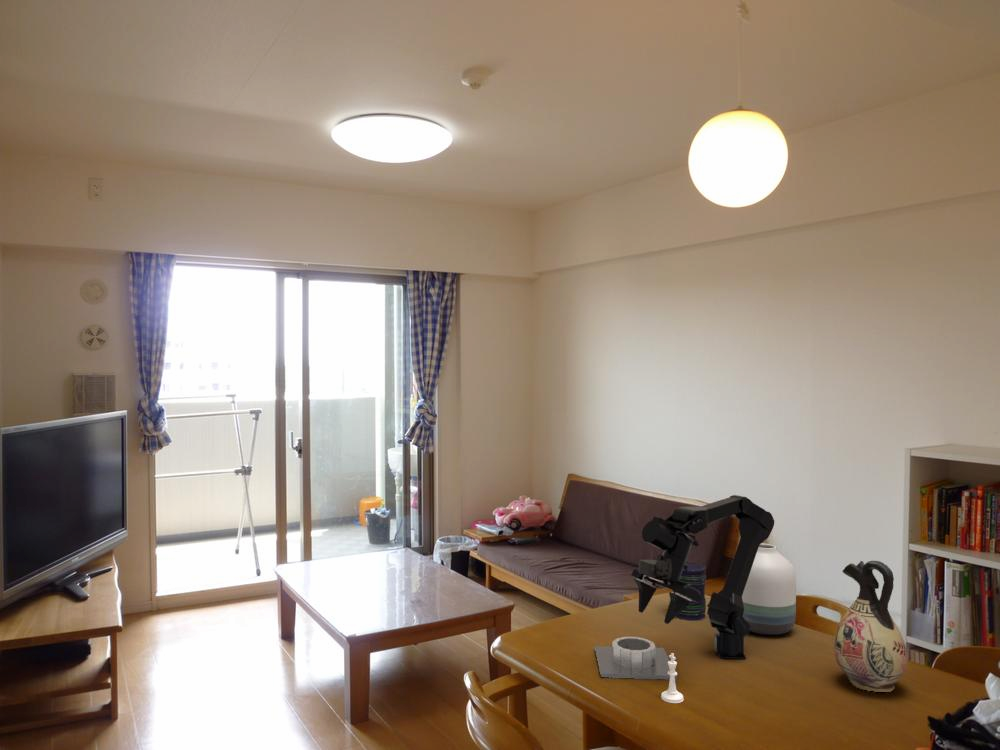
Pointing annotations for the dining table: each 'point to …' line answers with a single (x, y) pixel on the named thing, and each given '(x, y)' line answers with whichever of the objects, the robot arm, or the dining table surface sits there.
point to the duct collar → (633, 659)
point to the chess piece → (672, 684)
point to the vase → (770, 593)
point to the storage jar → (697, 580)
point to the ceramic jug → (870, 633)
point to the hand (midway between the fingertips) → (652, 617)
